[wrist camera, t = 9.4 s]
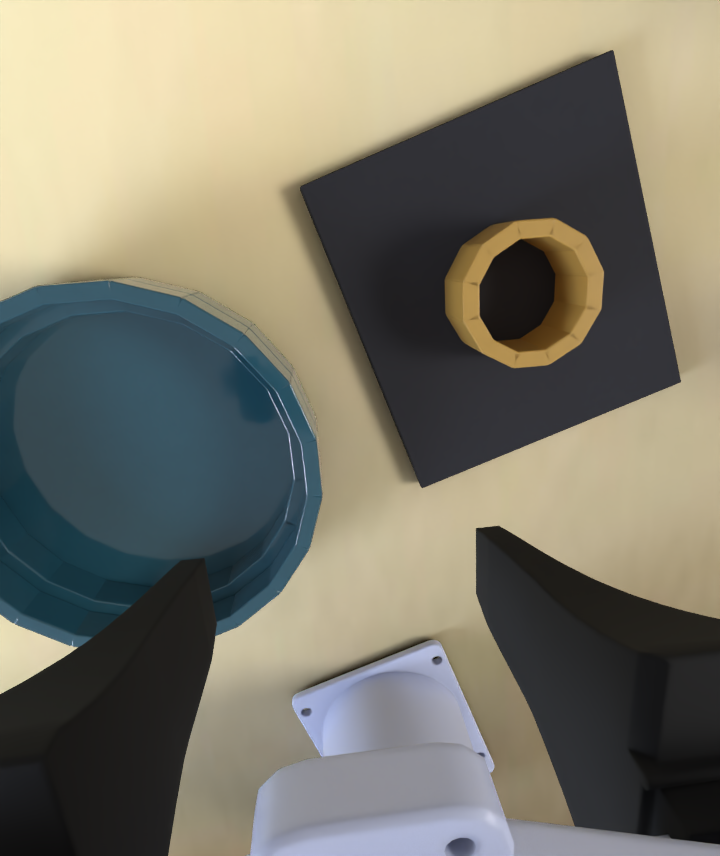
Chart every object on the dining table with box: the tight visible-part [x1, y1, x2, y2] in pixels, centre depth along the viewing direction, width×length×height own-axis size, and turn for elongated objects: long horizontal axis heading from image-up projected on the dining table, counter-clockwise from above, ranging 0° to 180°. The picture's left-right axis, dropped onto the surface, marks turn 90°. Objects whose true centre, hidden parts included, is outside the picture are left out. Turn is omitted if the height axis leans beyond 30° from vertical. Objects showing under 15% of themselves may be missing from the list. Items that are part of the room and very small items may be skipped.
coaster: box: [300, 50, 681, 488], centre depth 21 cm, size 13×12×1 cm
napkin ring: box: [445, 218, 604, 368], centre depth 19 cm, size 5×5×3 cm
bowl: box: [0, 277, 323, 647], centre depth 20 cm, size 14×14×4 cm
